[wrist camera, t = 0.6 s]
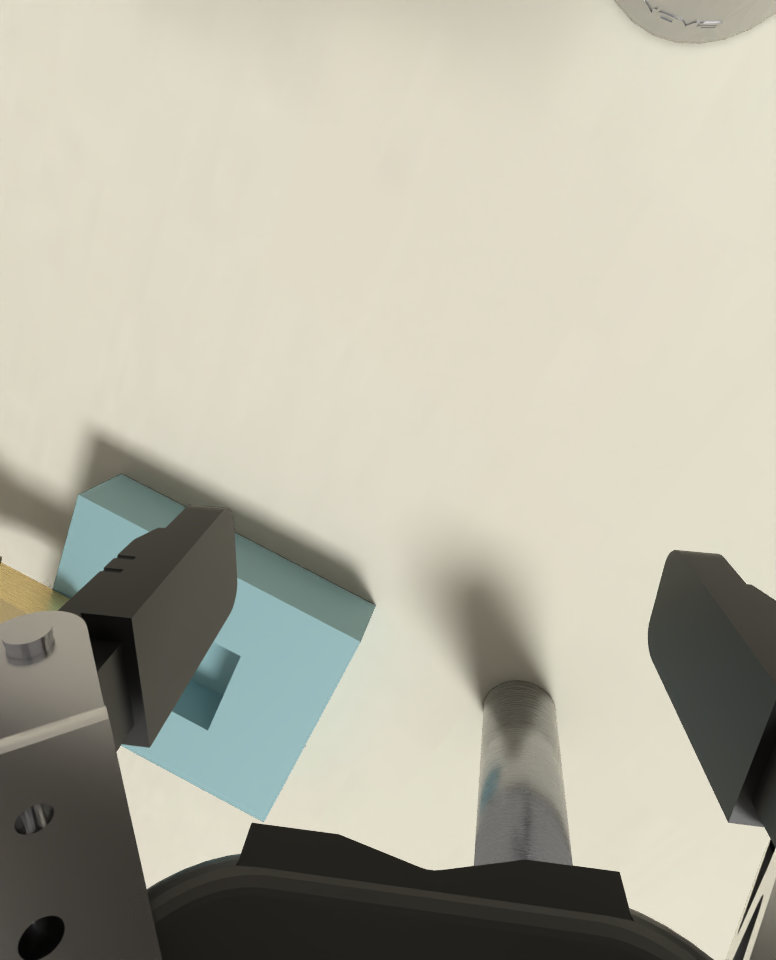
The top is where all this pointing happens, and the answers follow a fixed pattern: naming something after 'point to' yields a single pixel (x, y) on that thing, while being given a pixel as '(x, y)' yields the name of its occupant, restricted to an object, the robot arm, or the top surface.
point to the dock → (232, 653)
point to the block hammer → (25, 595)
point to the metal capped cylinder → (521, 779)
